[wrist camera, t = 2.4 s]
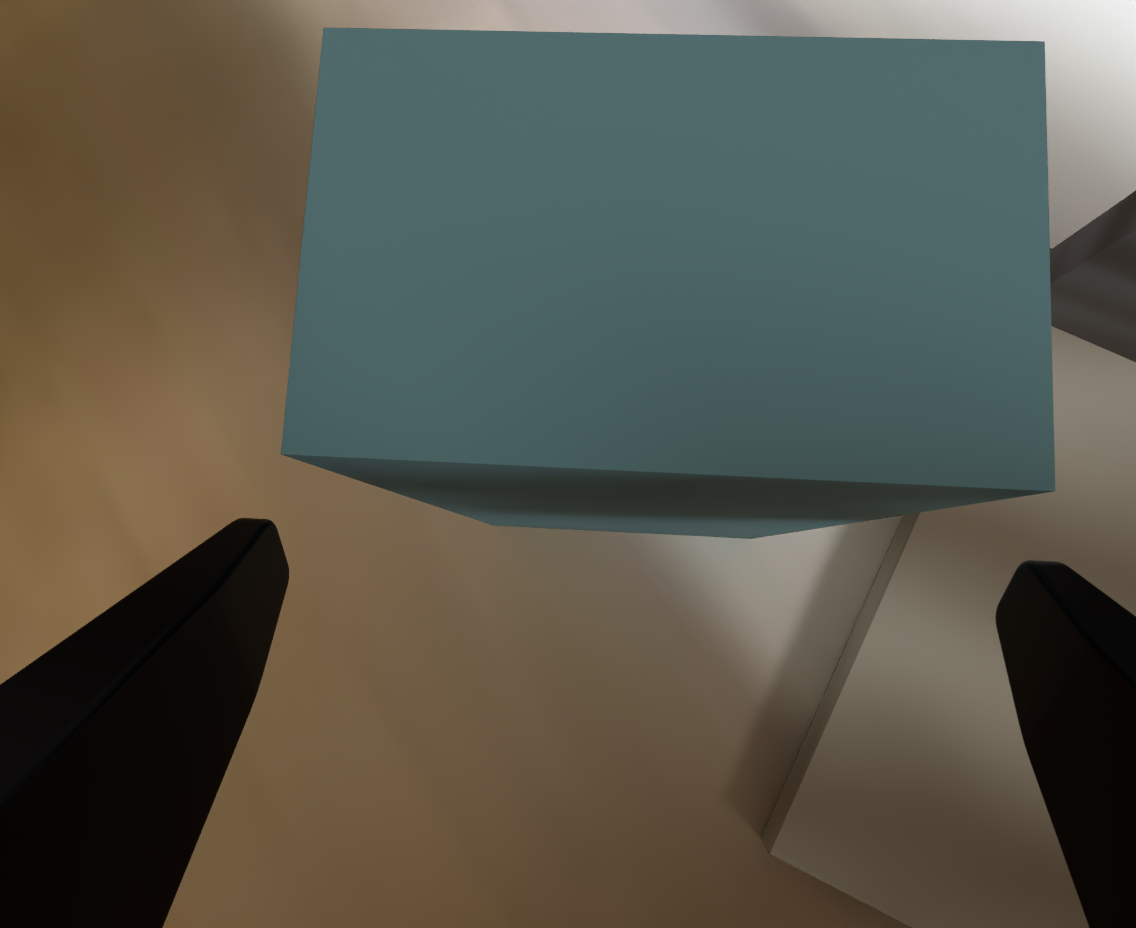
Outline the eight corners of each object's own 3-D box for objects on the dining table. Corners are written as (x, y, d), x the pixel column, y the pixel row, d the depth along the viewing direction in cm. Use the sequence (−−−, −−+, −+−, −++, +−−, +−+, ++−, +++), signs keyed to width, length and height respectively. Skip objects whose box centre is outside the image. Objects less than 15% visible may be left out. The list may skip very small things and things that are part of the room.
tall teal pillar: (751, 538, 19) (1054, 491, 6) (492, 525, 20) (280, 453, 7) (755, 381, 20) (1043, 41, 7) (502, 371, 20) (324, 27, 7)
